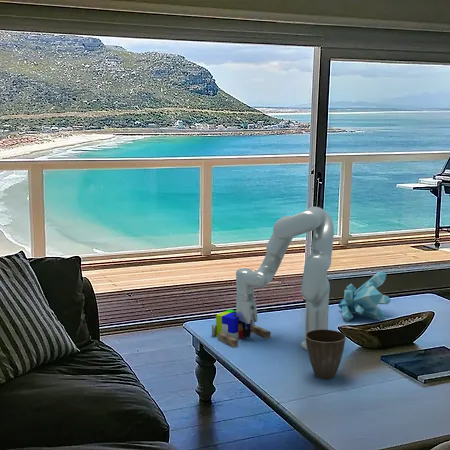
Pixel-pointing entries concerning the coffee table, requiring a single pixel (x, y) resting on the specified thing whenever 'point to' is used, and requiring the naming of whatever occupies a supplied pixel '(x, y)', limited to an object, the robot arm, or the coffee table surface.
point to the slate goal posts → (213, 330)
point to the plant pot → (325, 352)
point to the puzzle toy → (229, 324)
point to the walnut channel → (234, 342)
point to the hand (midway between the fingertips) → (246, 336)
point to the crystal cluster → (364, 299)
